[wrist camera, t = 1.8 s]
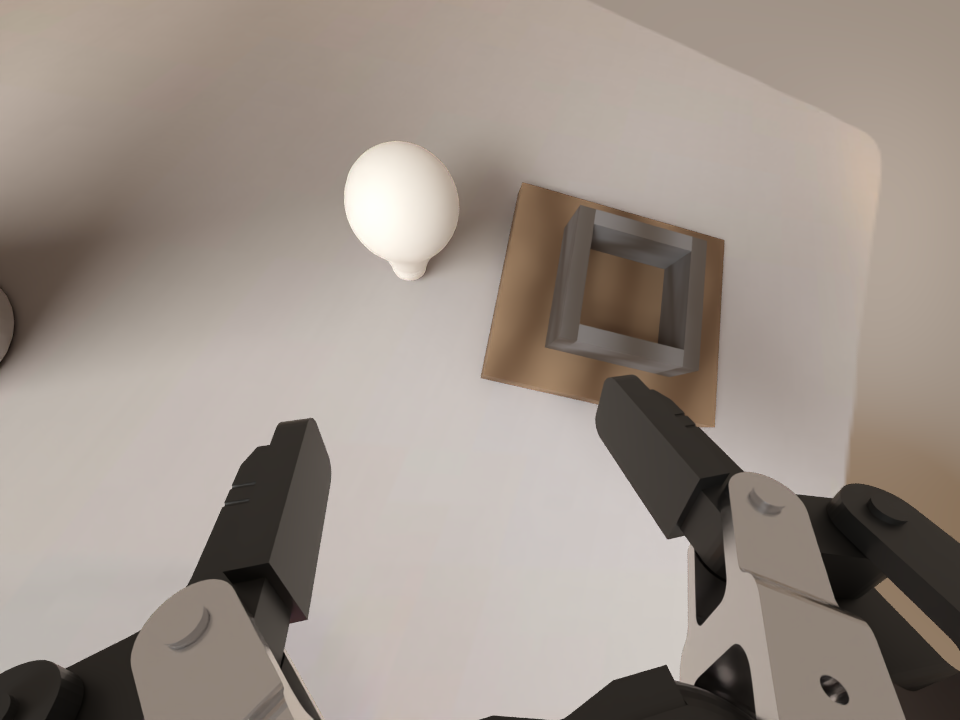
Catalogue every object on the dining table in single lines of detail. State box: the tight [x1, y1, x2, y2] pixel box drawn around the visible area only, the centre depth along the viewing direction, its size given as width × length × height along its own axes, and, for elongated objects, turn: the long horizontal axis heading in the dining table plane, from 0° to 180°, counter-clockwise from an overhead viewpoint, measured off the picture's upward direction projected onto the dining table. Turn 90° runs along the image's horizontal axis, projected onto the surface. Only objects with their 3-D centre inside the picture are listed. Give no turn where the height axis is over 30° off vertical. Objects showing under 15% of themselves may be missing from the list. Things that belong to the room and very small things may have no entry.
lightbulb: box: [344, 141, 459, 281], centre depth 22 cm, size 6×6×11 cm
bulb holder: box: [481, 182, 724, 427], centre depth 27 cm, size 18×16×4 cm
